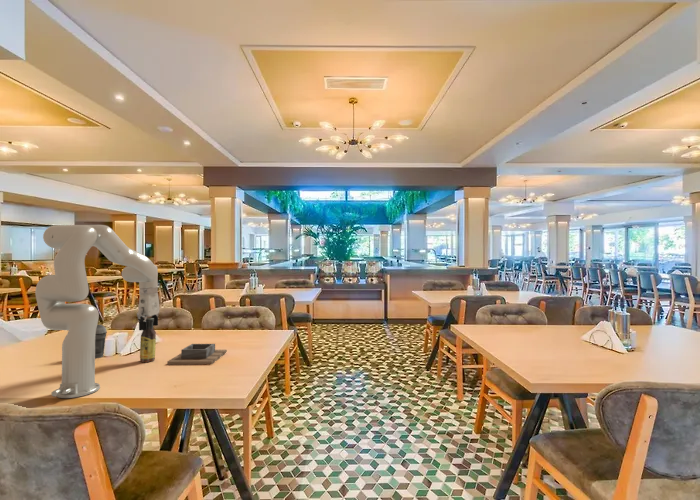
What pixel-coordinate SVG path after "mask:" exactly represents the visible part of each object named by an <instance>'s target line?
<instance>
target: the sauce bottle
mask: <svg viewBox="0 0 700 500" xmlns="http://www.w3.org/2000/svg"><path fill="white" fill-rule="evenodd" d="M146 321H147V330H142V332H141V335H140V343H139V344H140V345H139V346H140V347H139V359H140V360H139V361H140V363H149V362H154V361H155V360H156V344H157V343H156V341H157V338H156V335H157V334H156V331H155V329H154V326H153V322H154V318H151V317H147V319H146Z"/></svg>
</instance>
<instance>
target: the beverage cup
mask: <svg viewBox="0 0 700 500" xmlns="http://www.w3.org/2000/svg"><path fill="white" fill-rule="evenodd" d="M107 333H108V332H107V328H106V327H105V326H104V325H103V324H97V327H96V334H95V359H101V358H103V357H104V354H105V345H106V344H105V343H106V338H107V337H106V336H107Z"/></svg>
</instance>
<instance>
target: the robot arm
mask: <svg viewBox="0 0 700 500" xmlns="http://www.w3.org/2000/svg"><path fill="white" fill-rule="evenodd" d="M42 239H43V241H44V243H45V245H47V246H48V247H49V248H52V249H59V250H58V251H57V253H56V255H55V257H54V259H53V271H54V274H50V275H46V276H43V277H41V279H39V281H37V284H36V287H35V291H34V292H35V293H34V294H35V299H36V303H37V308H38V311H39V312H38V313H39V317H40V320H41V323H42V325H43V326H44V327H45V328H46V329H48V330H50V331H51V330H52V331H68V332H67V334H66V335H65V336H64V339H63V341H62V346H61V383H60V384H59V387H58V388H57V389H55V390H53V391H52V392H51V396H52V397H56V398H59V399H71V398H72V399H73V398H79V397H85V396H89V395H90V394H93V393H96V392H97V391H98V390H99V389H100V388H101V384H99V382H96V381H95V380H96V358H95V334H96V327H97V325H98V323H99V318H100V316H99V315H100V313H99V310H98V309H97V307H95V306H94V305H92V304H88V303H75V302H80V301H84V300H85V299H86V298H87V297H88V296H89V293H90V291H89V290H90V289H89V288H90V287H89V282H88V277H87V272H86V271H87V270H86V264H85V260H86V256H87V255H88V252H89V251H90V249H91V248H92V247H95V248H97V250H98V251H99V252H100V253H101V254H102V255H104V257H105V258H106V259H107V260H108V261H109V262H111V263H113V264H117V265H121V266H125V267H124V268H123V269H122V271H121V277H122V279H123V281H126V282H129V283H139V284H138V287H139V288H138V289H139V290H138V291H139V293H138V296H139V298H138V311H137V312H136V317H137V321H138V330H139V331H143V330H147V321H146V319H147V318H154V322H153V327H154V326H155V327H156V326H157V327H158V326H159V313H160V298H159V293H158V289H159V288H158V287H159V285H158V282H159V281H158V278H159V277H158V275H159V273H158V266H157V265H155V264H154V263H153V261H152V260H151V259H150V258H149V257H147V256H146V255H144V254H143V253H140V252H138V251H136V250H134V249H133V248H130V247H129V246H127V244H125V242H124V241H123V240H122V239H121V238H120V237H119V235H118V234H116V231H114V230H113V228H111V227H110V226H109V225H105V224H69V225H68V224H61V225H60V224H59V225H57V224H56V225H52V226H51V225H50V226H49V227H47V228H46V229H45V230H44V232H43V235H42ZM66 302H67V303H66ZM68 302H70V303H68ZM71 302H72V303H71ZM73 302H74V303H73Z"/></svg>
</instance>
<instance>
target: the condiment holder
mask: <svg viewBox="0 0 700 500" xmlns="http://www.w3.org/2000/svg"><path fill="white" fill-rule="evenodd" d="M180 351H181V353H179V354H177V355H176V356H174V357H173V358H171V359H169V360H167V361H166V364H167V365H168V366H170V365H171V366H173V365H174V366H179V365H183V366H186V365H187V366H188V365H189V366H190V365H195V366H196V365H202V364H212V365H214V363H216V362H217V361H218V360H219V359H221V358H222V357H223V356H225V355H226V354H227V353H226V352H227V351H228V350H227V349H216V343H191V344H189V345H188V346H186V347H184V348H181V350H180ZM225 353H226V354H225ZM221 356H222V357H221ZM220 357H221V358H220ZM215 361H216V362H215Z"/></svg>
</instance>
